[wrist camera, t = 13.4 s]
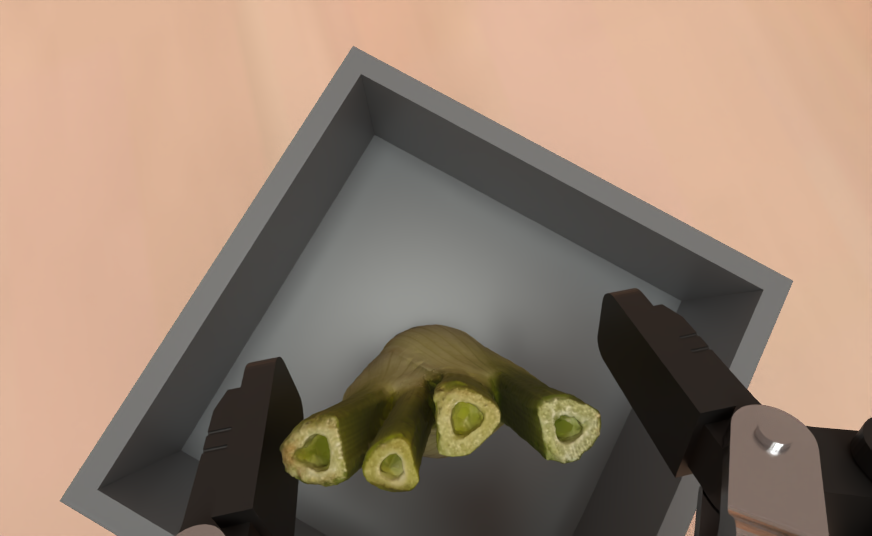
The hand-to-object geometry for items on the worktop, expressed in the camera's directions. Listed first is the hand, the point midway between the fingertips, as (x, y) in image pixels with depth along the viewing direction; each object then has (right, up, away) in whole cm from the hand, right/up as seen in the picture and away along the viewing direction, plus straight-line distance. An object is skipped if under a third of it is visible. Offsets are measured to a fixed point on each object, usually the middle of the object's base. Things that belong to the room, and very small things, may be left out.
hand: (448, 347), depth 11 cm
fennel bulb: (0, -3, +8) cm, 9 cm away
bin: (0, -3, +9) cm, 10 cm away
